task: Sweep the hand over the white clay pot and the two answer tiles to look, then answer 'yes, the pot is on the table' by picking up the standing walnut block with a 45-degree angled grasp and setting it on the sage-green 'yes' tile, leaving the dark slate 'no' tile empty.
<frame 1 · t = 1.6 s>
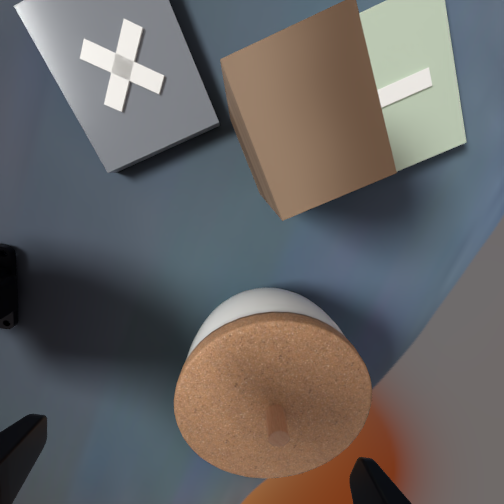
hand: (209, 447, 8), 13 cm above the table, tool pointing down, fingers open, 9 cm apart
lidded jar: (262, 326, 22), on the table
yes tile: (382, 98, 17), on the table
walnut block: (273, 146, 18), on the table
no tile: (131, 75, 16), on the table
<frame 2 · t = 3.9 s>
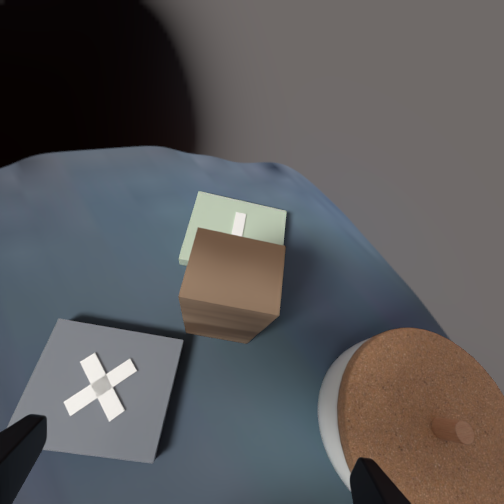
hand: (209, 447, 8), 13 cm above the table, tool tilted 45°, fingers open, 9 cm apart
lidded jar: (360, 414, 22), on the table
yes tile: (235, 239, 26), on the table
walnut block: (221, 314, 23), on the table
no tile: (107, 385, 19), on the table
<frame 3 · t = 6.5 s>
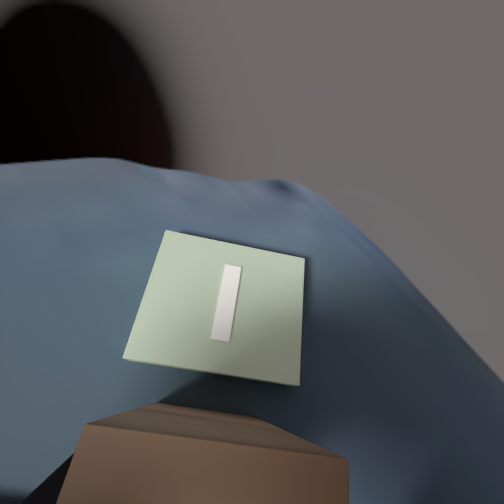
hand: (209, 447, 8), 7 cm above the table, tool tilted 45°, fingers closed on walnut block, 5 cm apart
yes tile: (224, 306, 16), on the table
walnut block: (197, 457, 13), on the table, touching gripper
when the fingers open (9 cm above the table, at t = 9.5 s): walnut block stays where it is, resting on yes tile.
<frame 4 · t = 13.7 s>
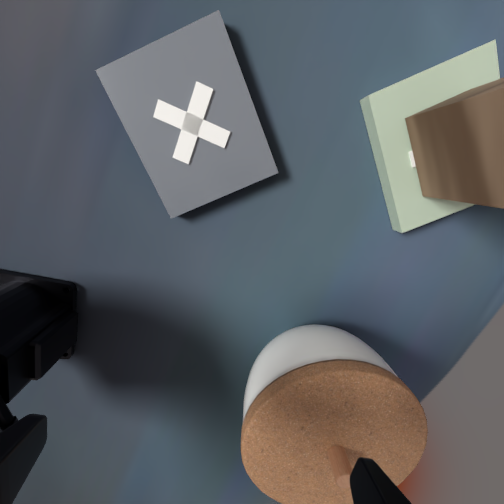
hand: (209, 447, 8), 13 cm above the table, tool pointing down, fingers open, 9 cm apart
lidded jar: (304, 356, 23), on the table
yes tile: (431, 147, 18), on the table
walnut block: (445, 145, 17), point 1 cm above the table, touching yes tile
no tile: (195, 127, 17), on the table
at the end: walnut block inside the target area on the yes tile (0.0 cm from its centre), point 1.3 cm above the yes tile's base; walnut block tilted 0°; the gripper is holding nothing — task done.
